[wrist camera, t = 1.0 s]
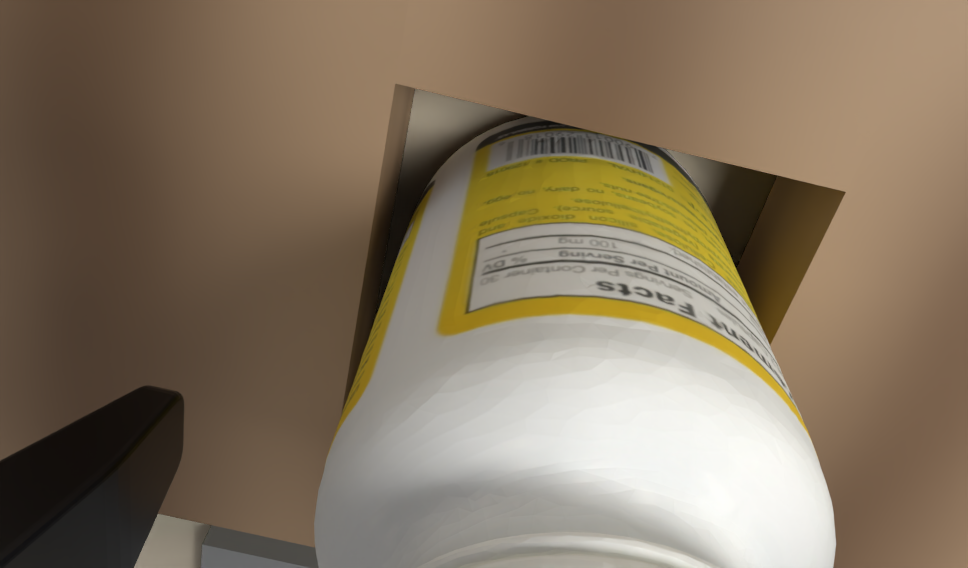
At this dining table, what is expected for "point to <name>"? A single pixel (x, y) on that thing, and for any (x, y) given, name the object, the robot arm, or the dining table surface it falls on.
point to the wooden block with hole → (371, 197)
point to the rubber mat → (253, 551)
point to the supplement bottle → (569, 380)
